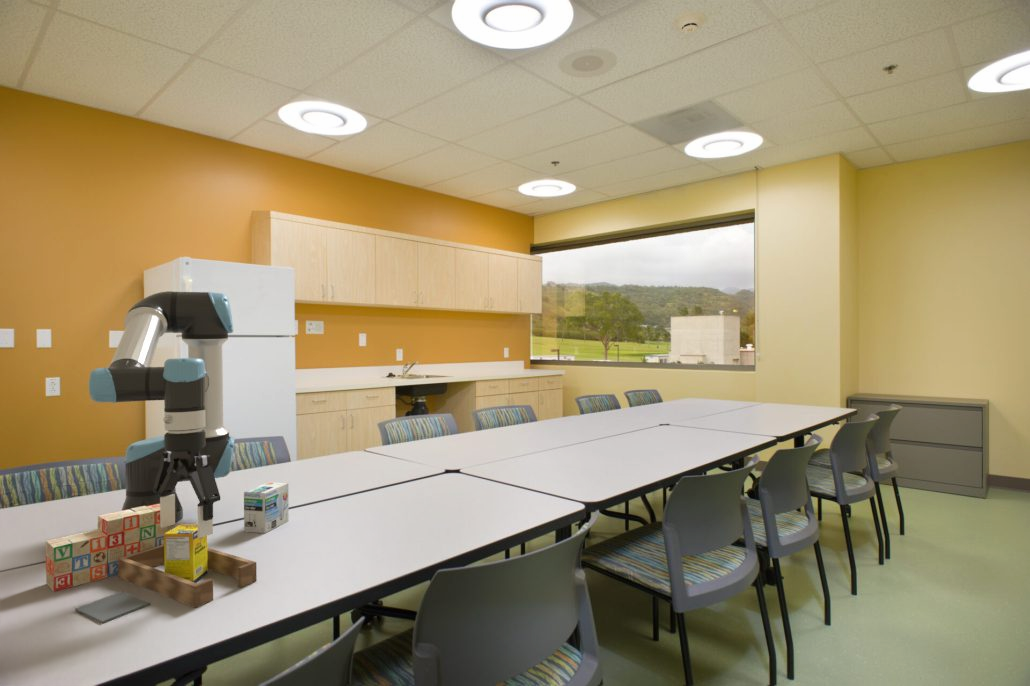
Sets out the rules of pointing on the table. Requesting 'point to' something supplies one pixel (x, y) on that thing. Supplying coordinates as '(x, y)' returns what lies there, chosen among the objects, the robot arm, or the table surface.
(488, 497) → the table surface
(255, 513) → the light bulb box
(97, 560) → the stack of blocks
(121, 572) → the open wooden frame
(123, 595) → the mat
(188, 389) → the robot arm
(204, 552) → the supplement box
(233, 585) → the table surface
